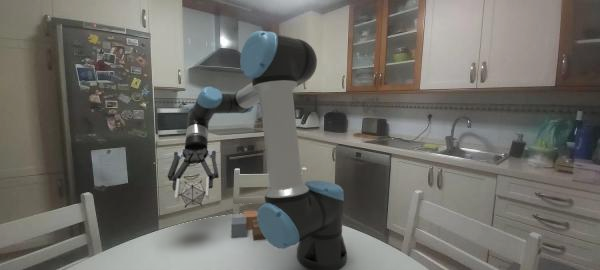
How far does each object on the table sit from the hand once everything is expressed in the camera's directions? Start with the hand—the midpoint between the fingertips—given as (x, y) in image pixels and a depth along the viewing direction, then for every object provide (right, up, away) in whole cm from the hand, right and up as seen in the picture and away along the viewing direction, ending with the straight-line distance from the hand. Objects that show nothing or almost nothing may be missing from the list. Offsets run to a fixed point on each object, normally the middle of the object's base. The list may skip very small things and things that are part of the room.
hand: (192, 198), depth 83 cm
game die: (-1, -3, +4) cm, 5 cm away
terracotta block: (+15, -14, +16) cm, 26 cm away
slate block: (+12, -15, +10) cm, 22 cm away
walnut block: (+20, -15, +9) cm, 27 cm away
